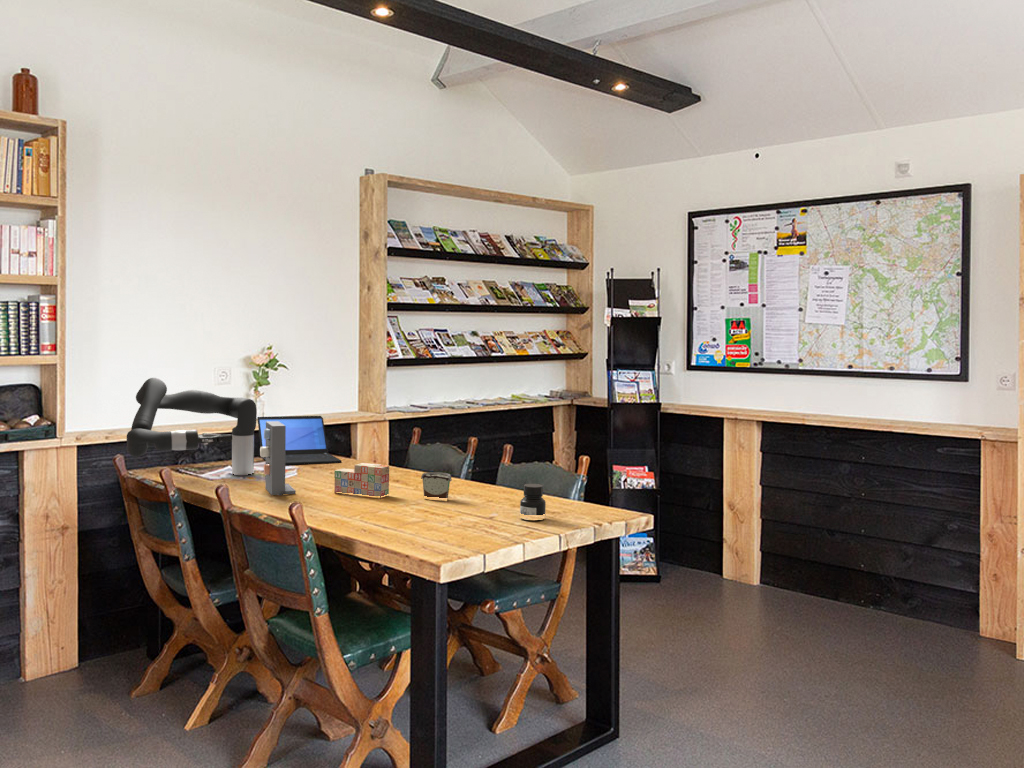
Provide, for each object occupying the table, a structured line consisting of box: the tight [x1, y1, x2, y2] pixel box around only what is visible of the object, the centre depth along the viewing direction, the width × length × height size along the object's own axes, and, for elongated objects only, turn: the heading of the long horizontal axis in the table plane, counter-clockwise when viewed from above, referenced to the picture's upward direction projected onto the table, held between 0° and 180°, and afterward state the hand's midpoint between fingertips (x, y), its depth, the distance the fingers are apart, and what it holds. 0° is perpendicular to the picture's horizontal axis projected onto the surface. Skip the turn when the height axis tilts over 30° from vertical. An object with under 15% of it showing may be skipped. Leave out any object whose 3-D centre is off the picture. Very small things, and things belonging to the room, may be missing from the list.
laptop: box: [256, 415, 342, 466], centre depth 431 cm, size 33×38×19 cm
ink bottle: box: [519, 483, 547, 515], centre depth 311 cm, size 10×9×12 cm
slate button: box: [264, 429, 270, 439], centre depth 347 cm, size 4×4×4 cm
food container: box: [420, 471, 453, 499], centre depth 342 cm, size 12×6×10 cm, turn 71°
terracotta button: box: [263, 463, 270, 475], centre depth 348 cm, size 4×4×4 cm
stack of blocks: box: [333, 462, 390, 497], centre depth 347 cm, size 21×6×12 cm, turn 68°
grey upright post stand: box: [264, 421, 297, 496], centre depth 349 cm, size 16×9×27 cm, turn 24°
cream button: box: [259, 446, 270, 458], centre depth 347 cm, size 4×4×4 cm
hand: (232, 437), depth 341 cm, fingers closed
